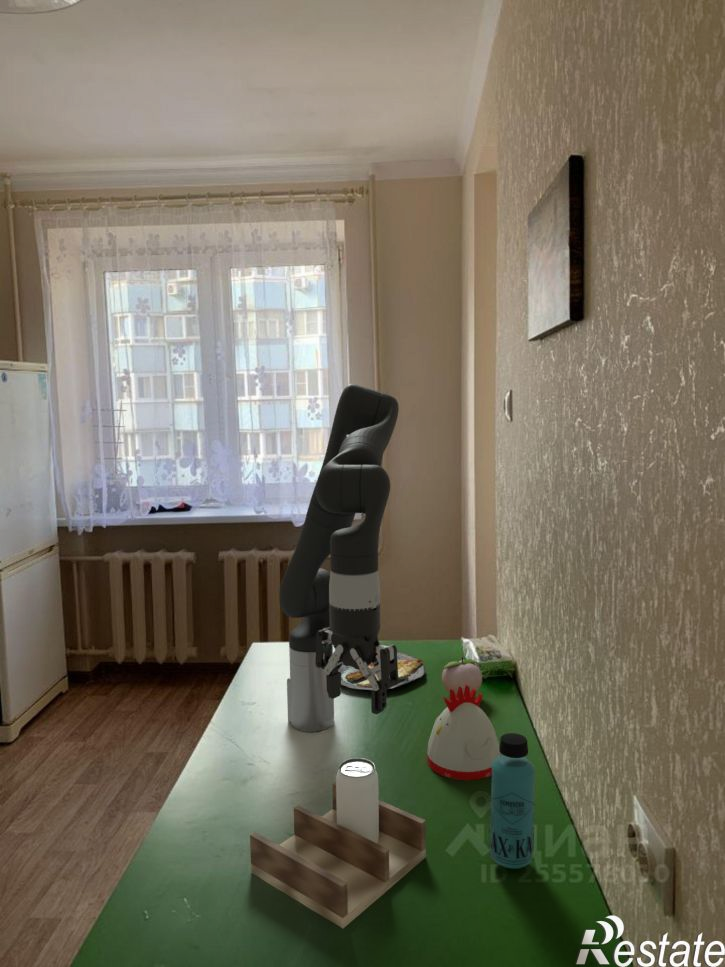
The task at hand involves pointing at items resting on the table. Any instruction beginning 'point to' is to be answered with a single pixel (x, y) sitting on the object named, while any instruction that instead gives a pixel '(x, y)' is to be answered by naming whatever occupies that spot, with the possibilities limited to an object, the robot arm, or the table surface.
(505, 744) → the beverage bottle
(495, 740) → the kitchen timer
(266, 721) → the table surface
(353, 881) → the rack
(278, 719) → the table surface
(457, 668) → the decorative fruit
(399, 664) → the food plate
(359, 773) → the can
